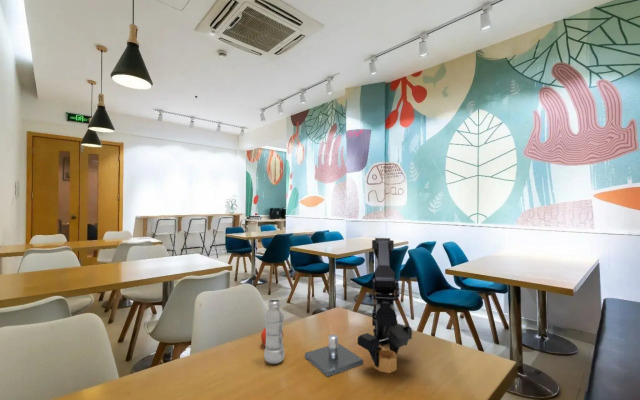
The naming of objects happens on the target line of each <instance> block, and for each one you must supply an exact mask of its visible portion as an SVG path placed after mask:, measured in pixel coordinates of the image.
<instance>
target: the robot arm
mask: <svg viewBox="0 0 640 400" xmlns="http://www.w3.org/2000/svg"><path fill="white" fill-rule="evenodd" d="M394 245H395V243H394V240H391V238H389V237H374V239H372V240H371V250H373V254H374V257H375V258H376V260H377V269H376V270H375V272H374V277H373V278H372V299H373V300H375V302H374V307H373V309H372V310H371V312H372V317H371V318H372V321H371V322H372V325H371V326H372V327H374V328H372V329H373V335H372V334H371V333H368V332H367V333H362V334H360V335H358V337H357V345H358V346H360V347H362V348H363V349H365V350H367V351H368V353H369V355H370V357H371V359H372V361H373V365H374V364H375V366H376V367H378V366H379V351H380V350H381V349H383V347H381V346H380V345H382V346H386V345H388V347H389V349H390V350H392V351H394V352H395V353H396V356H398V352H399V349H400V348H402V347H404V346H407V345H408V342H409V340H411V339H413V331H412V330H413V329H412V326H409V325H406V326H404V324H401V323H398V318H397V317H398V316H397V314H396V309H395V301H399V297H400V284H399V281H398V280H397V278H395V271H393V269H392V268H391V263H390V262H391V260H390V258H391V255H392V254H393V252H392V251H393V250H395V246H394Z"/></svg>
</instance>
